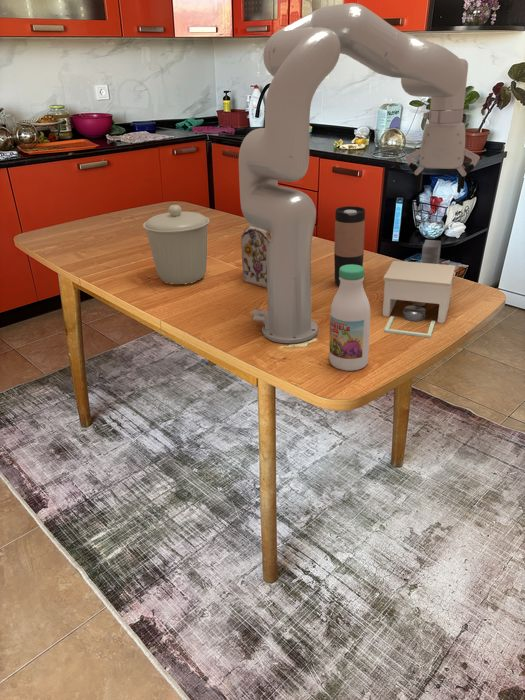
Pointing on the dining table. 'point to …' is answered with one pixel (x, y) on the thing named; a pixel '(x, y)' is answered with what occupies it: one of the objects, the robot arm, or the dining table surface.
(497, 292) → the dining table surface
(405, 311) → the ball
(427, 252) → the grey block on stick
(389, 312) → the white open box
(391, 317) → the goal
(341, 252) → the travel mug
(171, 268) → the canister
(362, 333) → the milk bottle
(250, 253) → the decorative jar
